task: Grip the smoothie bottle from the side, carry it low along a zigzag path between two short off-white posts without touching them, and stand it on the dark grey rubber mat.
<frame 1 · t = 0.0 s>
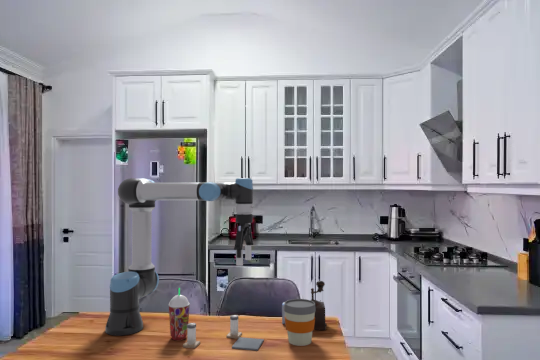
hand: (244, 262, 176), 28 cm above the table, tool pointing down, fingers open, 13 cm apart
pepper mill: (313, 324, 180), on the table
post near: (191, 345, 156), on the table
mat: (248, 344, 157), on the table
post far: (234, 335, 166), on the table
medicine box: (291, 323, 182), on the table
smoothie: (179, 338, 163), on the table
reusable coffee cup: (299, 341, 160), on the table
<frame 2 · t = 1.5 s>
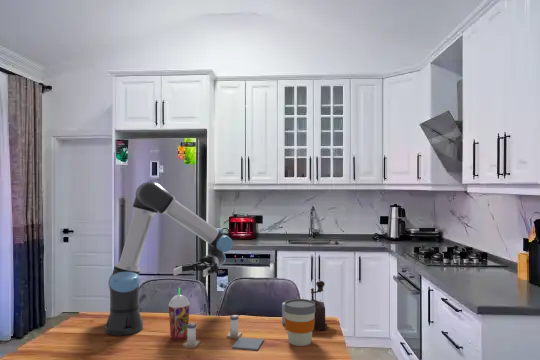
hand: (188, 273, 173), 24 cm above the table, tool horizontal, fingers open, 13 cm apart
nothing on the table moved.
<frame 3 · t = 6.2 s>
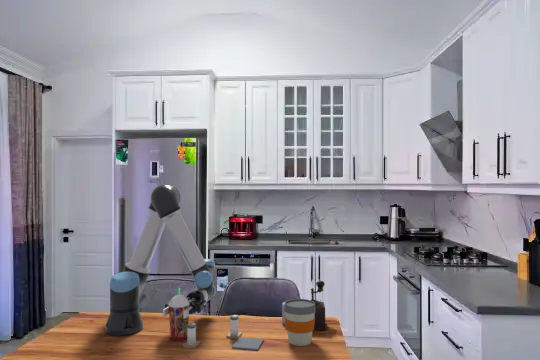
hand: (173, 314, 159), 11 cm above the table, tool horizontal, fingers closed on smoothie, 8 cm apart
smoothie: (179, 338, 164), on the table, touching gripper
everything else where it was.
when the fingers open (12 cm above the table, at t = 13.9 s): smoothie stays where it is, resting on mat.
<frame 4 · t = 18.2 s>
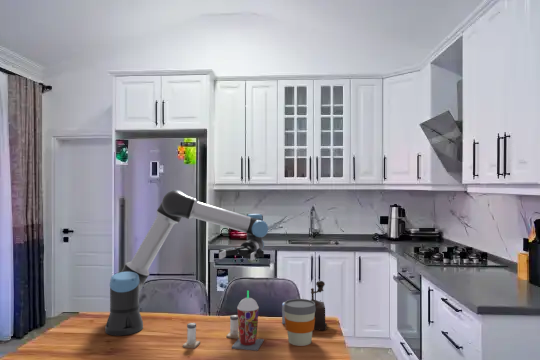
hand: (235, 256, 168), 32 cm above the table, tool horizontal, fingers open, 13 cm apart
smoothie: (248, 343, 157), resting on mat
everything else where it was.
at the end: smoothie inside the target area on the mat (0.1 cm from its centre), point 0.4 cm above the mat's base; smoothie tilted 0°; the gripper is holding nothing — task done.
